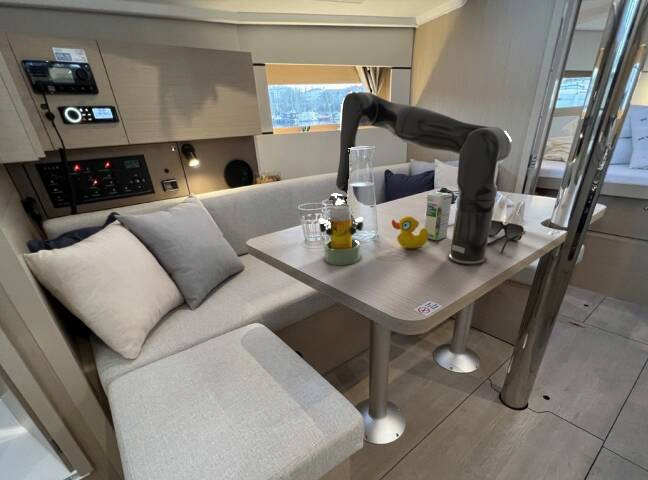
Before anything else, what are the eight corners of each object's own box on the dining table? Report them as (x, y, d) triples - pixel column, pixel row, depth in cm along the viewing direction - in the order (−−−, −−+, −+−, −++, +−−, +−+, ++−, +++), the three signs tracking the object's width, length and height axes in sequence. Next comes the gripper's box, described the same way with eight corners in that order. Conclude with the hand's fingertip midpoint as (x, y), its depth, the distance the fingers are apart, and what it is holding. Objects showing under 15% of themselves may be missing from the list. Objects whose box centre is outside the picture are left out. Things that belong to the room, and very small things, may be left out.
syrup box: (422, 237, 109) (426, 193, 102) (433, 233, 112) (438, 191, 105) (436, 241, 105) (441, 196, 98) (447, 237, 108) (453, 193, 101)
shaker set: (485, 224, 119) (491, 193, 113) (492, 222, 121) (498, 192, 115) (515, 231, 110) (522, 198, 104) (522, 229, 111) (530, 197, 106)
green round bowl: (340, 250, 102) (339, 236, 100) (366, 256, 96) (366, 242, 94) (318, 260, 96) (317, 245, 93) (344, 268, 89) (343, 253, 87)
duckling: (389, 249, 100) (390, 218, 95) (391, 244, 105) (392, 214, 100) (426, 251, 97) (429, 219, 92) (427, 245, 102) (430, 214, 97)
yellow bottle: (328, 258, 95) (324, 208, 88) (339, 251, 99) (337, 203, 92) (345, 261, 92) (343, 210, 85) (355, 254, 96) (354, 205, 89)
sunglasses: (458, 243, 102) (460, 227, 100) (482, 232, 111) (485, 218, 108) (501, 253, 93) (505, 237, 90) (524, 241, 101) (528, 225, 99)
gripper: (318, 205, 102) (314, 219, 88) (363, 203, 102) (366, 217, 87) (320, 228, 106) (316, 245, 92) (363, 226, 105) (366, 243, 91)
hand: (341, 231), depth 89 cm, fingers closed on yellow bottle, 6 cm apart
